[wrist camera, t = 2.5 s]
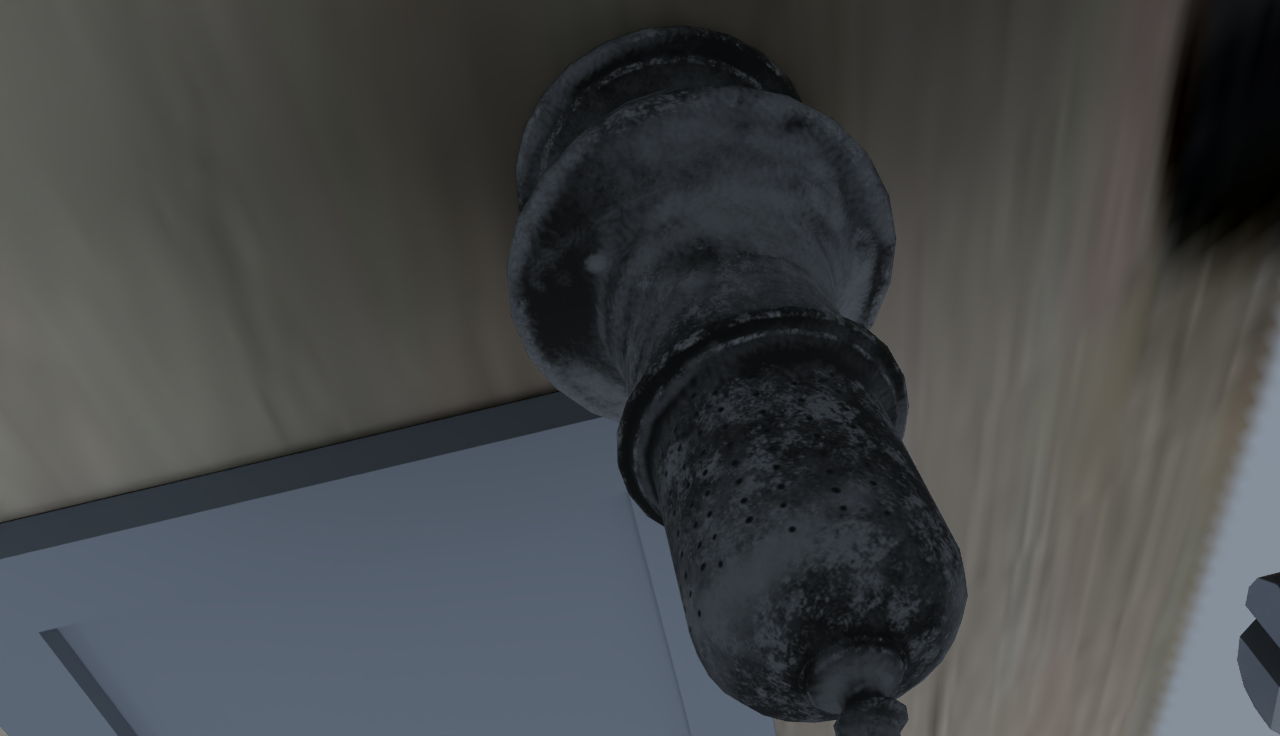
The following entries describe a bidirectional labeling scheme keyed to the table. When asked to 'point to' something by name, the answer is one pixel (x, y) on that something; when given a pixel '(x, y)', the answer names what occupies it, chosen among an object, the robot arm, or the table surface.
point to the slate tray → (364, 596)
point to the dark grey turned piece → (740, 365)
